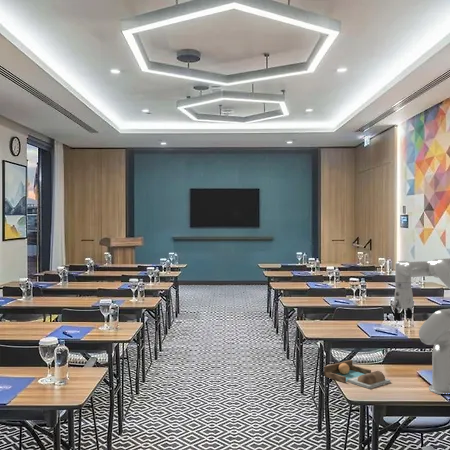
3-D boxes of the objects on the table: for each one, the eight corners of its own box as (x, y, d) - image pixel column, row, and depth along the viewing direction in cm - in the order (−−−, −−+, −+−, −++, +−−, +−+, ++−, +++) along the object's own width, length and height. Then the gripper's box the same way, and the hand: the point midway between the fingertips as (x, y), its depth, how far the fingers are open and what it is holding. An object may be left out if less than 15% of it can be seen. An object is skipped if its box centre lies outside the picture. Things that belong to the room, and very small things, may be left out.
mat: (368, 375, 255) (368, 374, 255) (345, 381, 245) (345, 381, 245) (350, 370, 264) (350, 369, 264) (327, 376, 254) (327, 375, 254)
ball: (350, 375, 257) (352, 365, 256) (343, 377, 254) (345, 367, 252) (342, 369, 261) (344, 360, 260) (335, 371, 258) (337, 362, 257)
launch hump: (385, 387, 244) (385, 372, 244) (369, 392, 237) (369, 377, 237) (373, 383, 250) (373, 369, 250) (357, 388, 242) (357, 373, 242)
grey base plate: (390, 382, 244) (390, 379, 244) (369, 388, 234) (369, 385, 234) (368, 375, 254) (368, 373, 254) (347, 381, 245) (347, 379, 245)
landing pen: (371, 375, 256) (371, 365, 256) (344, 382, 244) (344, 372, 244) (350, 369, 266) (350, 359, 266) (324, 376, 254) (324, 366, 254)
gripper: (399, 287, 247) (399, 322, 247) (419, 284, 257) (419, 318, 257) (386, 286, 253) (386, 320, 253) (406, 283, 263) (406, 316, 263)
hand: (403, 319), depth 255 cm, fingers open, 9 cm apart
